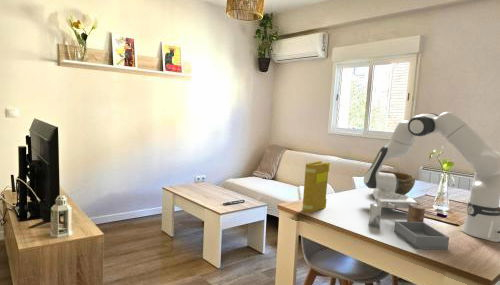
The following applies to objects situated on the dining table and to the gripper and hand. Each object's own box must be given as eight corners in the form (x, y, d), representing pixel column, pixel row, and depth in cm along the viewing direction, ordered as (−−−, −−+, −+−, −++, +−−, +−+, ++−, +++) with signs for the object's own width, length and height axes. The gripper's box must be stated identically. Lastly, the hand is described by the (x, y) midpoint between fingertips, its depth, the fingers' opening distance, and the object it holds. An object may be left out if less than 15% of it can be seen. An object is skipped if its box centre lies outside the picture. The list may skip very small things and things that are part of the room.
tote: (422, 232, 150) (423, 222, 150) (447, 249, 133) (449, 237, 132) (393, 231, 149) (395, 221, 149) (415, 248, 132) (416, 236, 131)
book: (314, 204, 185) (318, 160, 183) (325, 207, 181) (329, 162, 178) (299, 210, 172) (303, 163, 170) (310, 213, 168) (314, 165, 165)
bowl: (358, 192, 221) (360, 170, 219) (387, 189, 232) (389, 169, 231) (391, 203, 196) (394, 179, 195) (422, 200, 208) (425, 177, 206)
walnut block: (416, 225, 160) (418, 205, 159) (422, 229, 155) (424, 208, 154) (406, 225, 160) (408, 205, 159) (412, 228, 155) (414, 208, 154)
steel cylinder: (376, 223, 159) (378, 203, 158) (381, 227, 154) (383, 206, 153) (366, 223, 159) (368, 203, 158) (370, 227, 154) (373, 206, 153)
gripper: (373, 193, 181) (384, 200, 167) (409, 195, 182) (423, 202, 168) (372, 204, 181) (383, 212, 168) (407, 206, 183) (422, 214, 169)
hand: (403, 207), depth 168 cm, fingers open, 8 cm apart
